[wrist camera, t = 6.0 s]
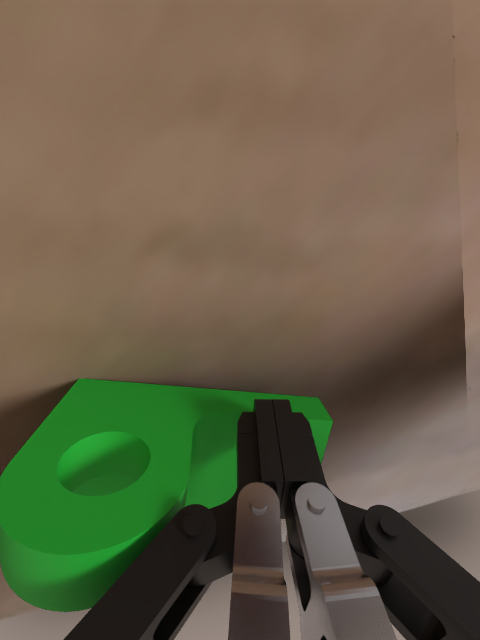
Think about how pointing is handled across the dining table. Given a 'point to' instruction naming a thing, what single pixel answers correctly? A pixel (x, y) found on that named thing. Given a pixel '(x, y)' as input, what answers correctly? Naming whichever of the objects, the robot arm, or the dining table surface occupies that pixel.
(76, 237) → the dining table surface
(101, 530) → the mechanical part
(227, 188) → the dining table surface
